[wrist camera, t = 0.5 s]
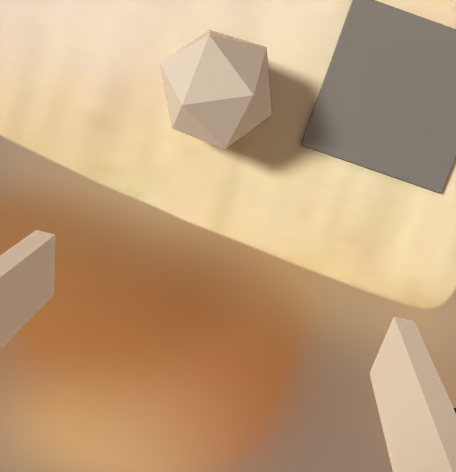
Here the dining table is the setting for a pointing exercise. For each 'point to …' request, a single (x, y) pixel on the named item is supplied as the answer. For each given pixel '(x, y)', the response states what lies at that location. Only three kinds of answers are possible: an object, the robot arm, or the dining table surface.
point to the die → (217, 88)
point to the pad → (390, 96)
